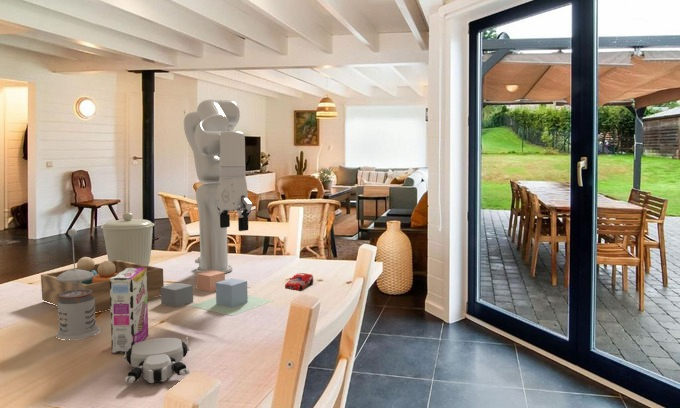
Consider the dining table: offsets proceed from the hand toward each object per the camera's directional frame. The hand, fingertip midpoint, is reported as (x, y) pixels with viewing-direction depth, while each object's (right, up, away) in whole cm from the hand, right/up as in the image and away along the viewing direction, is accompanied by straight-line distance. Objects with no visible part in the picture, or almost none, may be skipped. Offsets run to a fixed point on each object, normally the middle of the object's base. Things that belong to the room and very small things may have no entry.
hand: (234, 228), depth 157 cm
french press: (-30, -23, -33) cm, 51 cm away
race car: (+19, -19, +8) cm, 28 cm away
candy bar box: (-14, -24, -42) cm, 50 cm away
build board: (+2, -21, -15) cm, 26 cm away
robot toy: (-3, -26, -56) cm, 62 cm away
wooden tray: (-37, -20, -5) cm, 42 cm away
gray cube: (-13, -21, -14) cm, 28 cm away
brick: (-7, -20, +1) cm, 21 cm away
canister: (-45, -17, +32) cm, 57 cm away
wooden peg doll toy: (-37, -21, -5) cm, 42 cm away
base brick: (+2, -20, -15) cm, 25 cm away
